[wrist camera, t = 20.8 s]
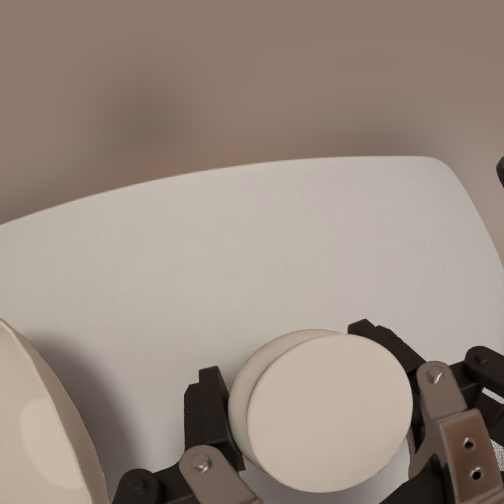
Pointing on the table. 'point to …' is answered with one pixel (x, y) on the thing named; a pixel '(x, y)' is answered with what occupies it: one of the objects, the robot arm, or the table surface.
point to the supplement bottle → (320, 409)
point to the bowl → (42, 433)
